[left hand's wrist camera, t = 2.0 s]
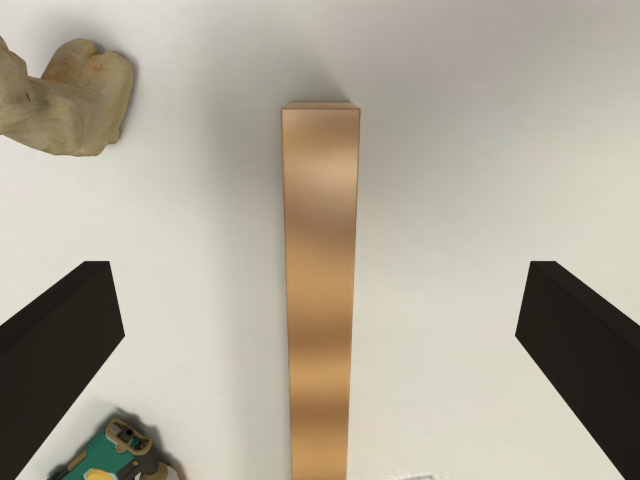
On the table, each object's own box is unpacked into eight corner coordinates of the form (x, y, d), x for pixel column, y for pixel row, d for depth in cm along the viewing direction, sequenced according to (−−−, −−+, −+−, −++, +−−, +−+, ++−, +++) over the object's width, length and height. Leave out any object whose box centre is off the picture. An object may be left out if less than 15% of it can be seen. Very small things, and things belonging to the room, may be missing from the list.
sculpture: (154, 65, 29) (2, 50, 15) (131, 157, 32) (-17, 217, 18) (73, 30, 28) (-166, -18, 14) (56, 128, 31) (-161, 166, 17)
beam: (290, 101, 30) (280, 108, 23) (351, 101, 30) (360, 108, 23) (301, 608, 54) (298, 691, 47) (335, 608, 54) (337, 691, 47)
